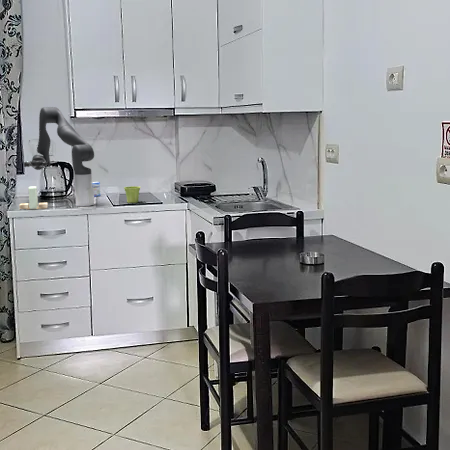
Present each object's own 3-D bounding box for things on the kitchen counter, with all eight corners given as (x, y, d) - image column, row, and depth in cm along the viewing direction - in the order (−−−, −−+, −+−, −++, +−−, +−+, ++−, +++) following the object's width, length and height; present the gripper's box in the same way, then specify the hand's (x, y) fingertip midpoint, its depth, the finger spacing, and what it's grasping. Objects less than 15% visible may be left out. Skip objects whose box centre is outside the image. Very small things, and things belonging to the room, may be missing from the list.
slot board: (47, 206, 365) (47, 202, 364) (46, 208, 358) (46, 204, 358) (21, 207, 362) (20, 203, 362) (19, 209, 356) (19, 205, 355)
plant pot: (131, 204, 371) (131, 188, 370) (120, 202, 377) (120, 187, 376) (144, 202, 378) (144, 187, 377) (133, 200, 384) (133, 185, 383)
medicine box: (91, 197, 402) (90, 183, 401) (86, 197, 405) (85, 182, 403) (100, 196, 408) (100, 182, 407) (95, 195, 411) (95, 181, 409)
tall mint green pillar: (37, 206, 364) (36, 186, 362) (36, 208, 357) (35, 188, 355) (31, 206, 364) (29, 186, 362) (29, 208, 356) (28, 188, 354)
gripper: (25, 157, 386) (22, 158, 370) (50, 156, 389) (48, 157, 373) (26, 170, 387) (23, 171, 372) (51, 168, 390) (49, 170, 374)
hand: (36, 164), depth 372 cm, fingers open, 8 cm apart
